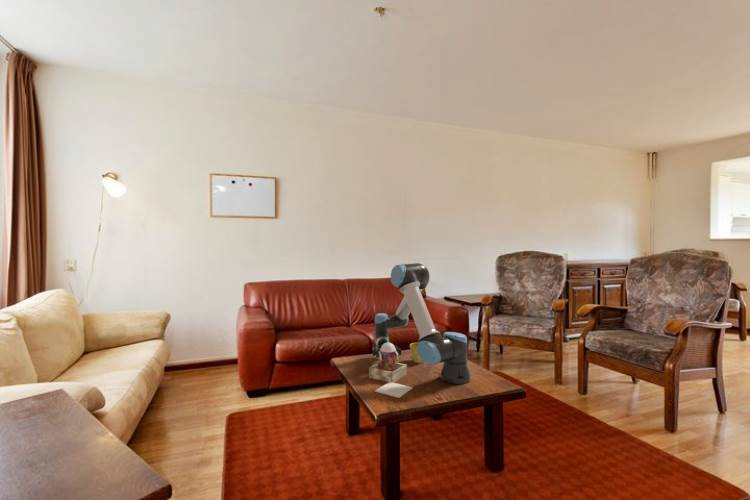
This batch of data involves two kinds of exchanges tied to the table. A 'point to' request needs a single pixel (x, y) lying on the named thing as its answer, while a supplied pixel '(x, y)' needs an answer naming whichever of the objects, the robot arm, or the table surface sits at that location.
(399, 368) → the holder
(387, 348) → the smoothie
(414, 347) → the plant pot
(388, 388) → the mat
